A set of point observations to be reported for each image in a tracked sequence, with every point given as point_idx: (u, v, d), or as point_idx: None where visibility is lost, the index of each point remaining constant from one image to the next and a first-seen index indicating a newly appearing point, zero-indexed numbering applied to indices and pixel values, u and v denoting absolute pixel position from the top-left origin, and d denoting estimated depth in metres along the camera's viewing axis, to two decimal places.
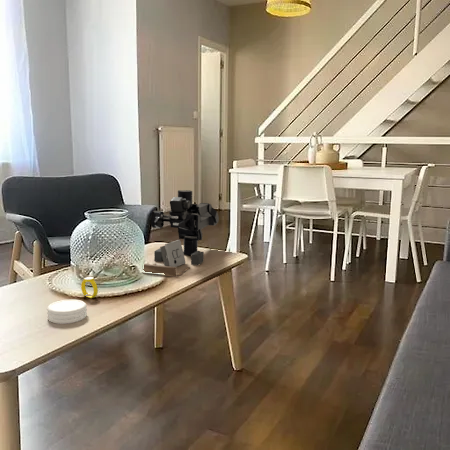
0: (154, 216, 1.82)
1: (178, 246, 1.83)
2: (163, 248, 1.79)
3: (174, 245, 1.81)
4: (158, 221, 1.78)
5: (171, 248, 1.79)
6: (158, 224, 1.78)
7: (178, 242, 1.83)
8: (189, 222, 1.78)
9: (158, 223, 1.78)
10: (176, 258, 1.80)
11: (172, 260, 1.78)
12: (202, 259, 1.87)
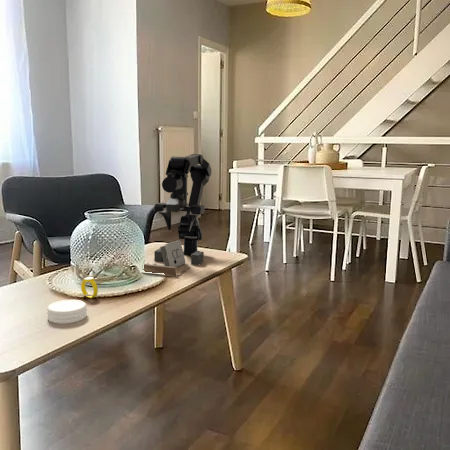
0: None
1: (178, 246, 1.83)
2: (163, 248, 1.79)
3: (174, 245, 1.81)
4: (169, 221, 1.86)
5: (171, 248, 1.79)
6: (170, 220, 1.88)
7: (178, 242, 1.83)
8: None
9: (169, 221, 1.87)
10: (176, 258, 1.80)
11: (172, 260, 1.78)
12: (202, 259, 1.87)
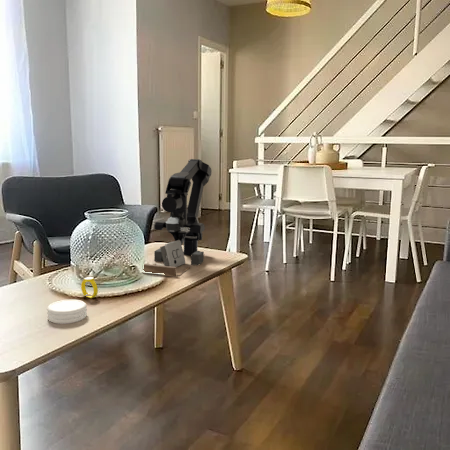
0: None
1: (178, 246, 1.83)
2: (163, 248, 1.79)
3: (174, 245, 1.81)
4: (178, 239, 1.87)
5: (171, 248, 1.79)
6: None
7: (178, 242, 1.83)
8: None
9: (179, 239, 1.88)
10: (176, 258, 1.80)
11: (172, 260, 1.78)
12: (202, 259, 1.87)
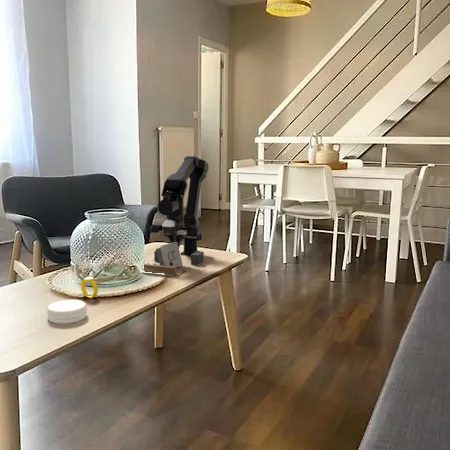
0: None
1: (175, 248, 1.79)
2: (159, 250, 1.75)
3: (170, 247, 1.77)
4: None
5: (167, 250, 1.75)
6: None
7: (175, 244, 1.80)
8: None
9: None
10: (172, 260, 1.77)
11: (168, 262, 1.75)
12: (202, 259, 1.87)
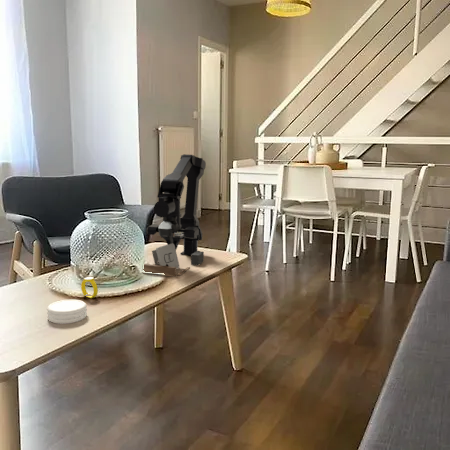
0: None
1: (171, 250, 1.76)
2: (155, 252, 1.72)
3: (166, 249, 1.74)
4: None
5: (163, 252, 1.72)
6: None
7: (171, 246, 1.77)
8: None
9: None
10: (168, 262, 1.74)
11: (163, 264, 1.72)
12: (202, 259, 1.87)
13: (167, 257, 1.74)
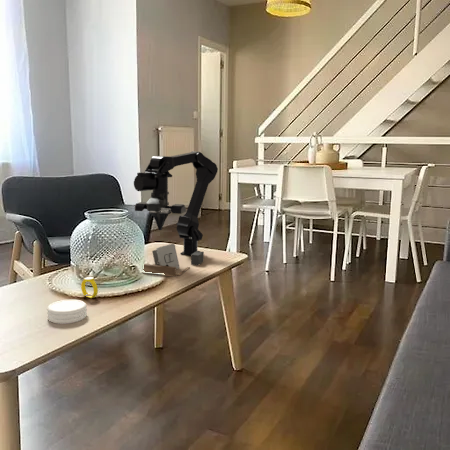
0: None
1: (172, 250, 1.76)
2: (155, 252, 1.72)
3: (167, 249, 1.74)
4: (159, 221, 1.86)
5: (163, 252, 1.72)
6: None
7: (172, 246, 1.77)
8: None
9: None
10: (168, 263, 1.74)
11: (164, 265, 1.72)
12: (202, 259, 1.87)
13: (167, 257, 1.74)
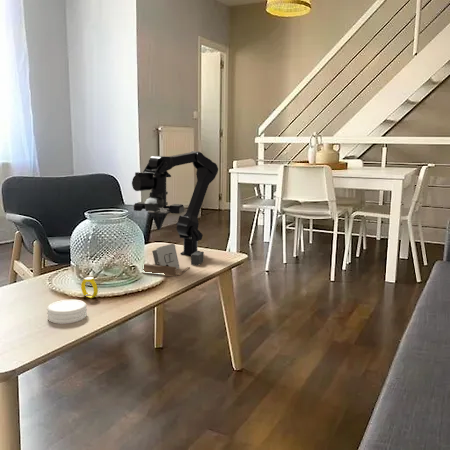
0: None
1: (172, 250, 1.76)
2: (155, 252, 1.73)
3: (167, 249, 1.74)
4: None
5: (163, 252, 1.73)
6: None
7: (172, 246, 1.77)
8: None
9: None
10: (168, 263, 1.74)
11: (164, 265, 1.72)
12: (202, 259, 1.87)
13: (167, 257, 1.74)
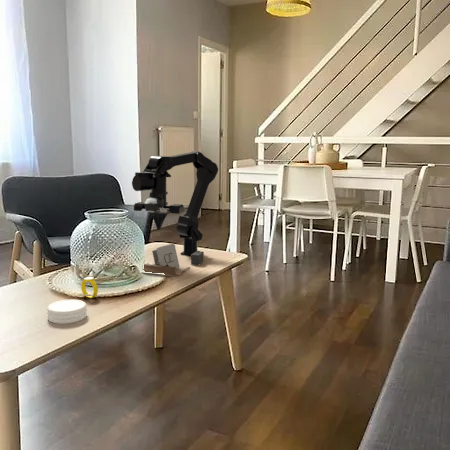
0: None
1: (172, 250, 1.76)
2: (155, 252, 1.72)
3: (167, 249, 1.74)
4: None
5: (163, 252, 1.72)
6: None
7: (172, 246, 1.77)
8: None
9: None
10: (168, 263, 1.74)
11: (164, 265, 1.72)
12: (202, 259, 1.87)
13: (167, 257, 1.74)
